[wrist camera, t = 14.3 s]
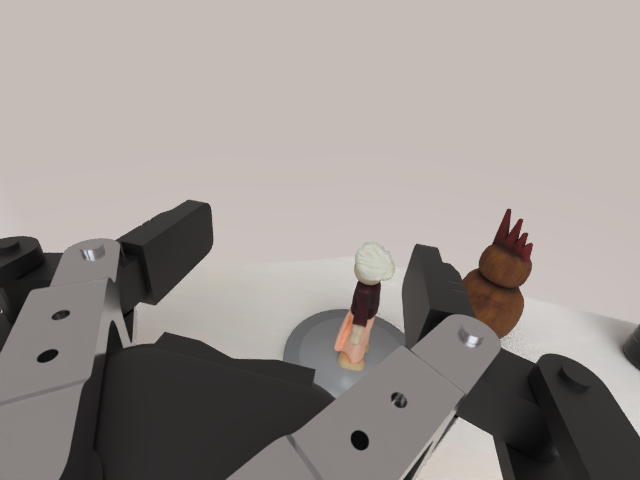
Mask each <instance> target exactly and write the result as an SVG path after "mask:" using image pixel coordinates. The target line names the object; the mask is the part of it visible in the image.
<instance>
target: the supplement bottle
mask: <svg viewBox="0 0 640 480" xmlns="http://www.w3.org/2000/svg"><path fill="white" fill-rule="evenodd" d="M623 350H624V353H625V355H626V356H627V358H628V359H629V360H630V361H631V362H632V363H633V364H634V365H635V366H636V367H637V368H639V369H640V324H639V326H638V327H637V328H636V329H635V330H634V332H633V333H632V334H631V335H630V336H629V338H628V339H627V340H626V341H625V343H624V345H623Z"/></svg>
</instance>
